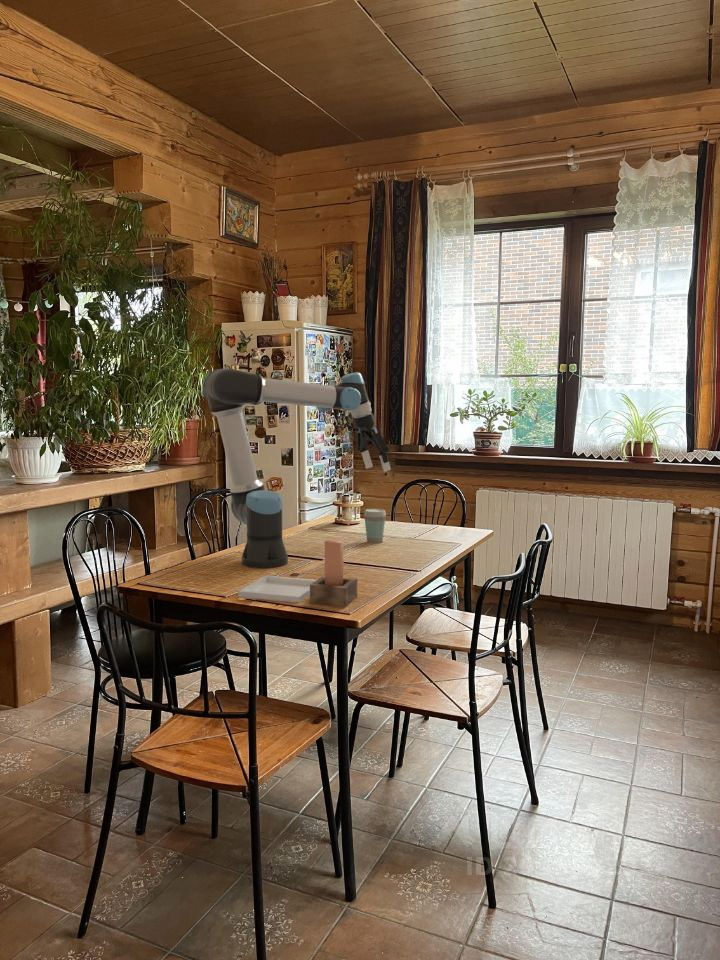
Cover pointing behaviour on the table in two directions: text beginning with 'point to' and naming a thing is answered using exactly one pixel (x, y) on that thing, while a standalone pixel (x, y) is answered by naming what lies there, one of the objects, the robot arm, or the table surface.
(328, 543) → the peg
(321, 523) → the table surface
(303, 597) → the tray
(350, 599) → the socket block
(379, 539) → the coffee cup
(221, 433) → the robot arm
